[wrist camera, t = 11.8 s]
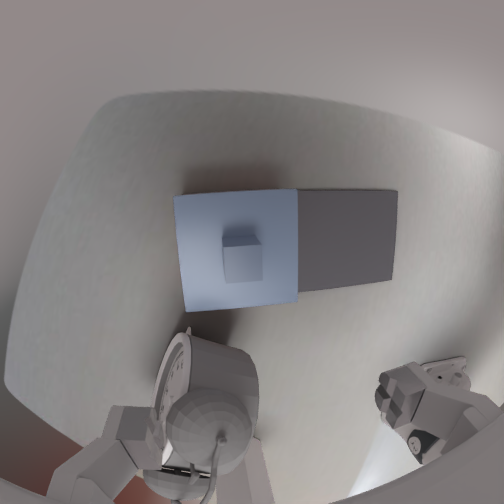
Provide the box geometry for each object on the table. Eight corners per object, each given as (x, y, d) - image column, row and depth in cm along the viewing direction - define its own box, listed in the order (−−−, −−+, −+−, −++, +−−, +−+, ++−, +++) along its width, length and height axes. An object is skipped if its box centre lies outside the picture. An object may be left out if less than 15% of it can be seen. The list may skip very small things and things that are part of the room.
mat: (395, 191, 33) (397, 191, 33) (389, 278, 36) (391, 279, 36) (293, 190, 32) (295, 191, 31) (294, 290, 35) (295, 292, 34)
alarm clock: (186, 298, 33) (165, 455, 12) (252, 322, 35) (299, 474, 14) (149, 390, 36) (128, 523, 15) (205, 407, 38) (212, 537, 17)
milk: (239, 426, 40) (261, 543, 19) (260, 440, 42) (287, 546, 21) (211, 440, 40) (222, 552, 19) (233, 454, 42) (250, 556, 21)
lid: (293, 188, 26) (310, 191, 22) (294, 296, 29) (308, 317, 25) (174, 195, 25) (167, 199, 21) (186, 306, 28) (183, 330, 24)
